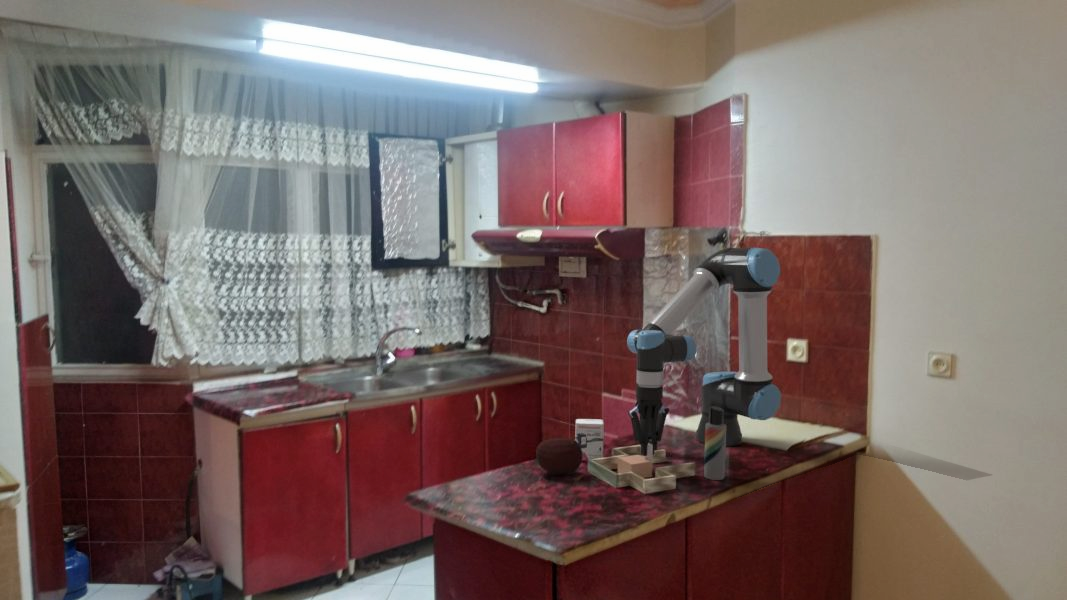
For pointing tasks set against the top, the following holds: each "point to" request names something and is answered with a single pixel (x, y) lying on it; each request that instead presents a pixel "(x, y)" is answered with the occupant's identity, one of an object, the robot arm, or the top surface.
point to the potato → (559, 455)
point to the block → (635, 465)
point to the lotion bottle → (715, 445)
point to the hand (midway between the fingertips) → (647, 466)
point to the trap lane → (661, 482)
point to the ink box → (590, 438)
